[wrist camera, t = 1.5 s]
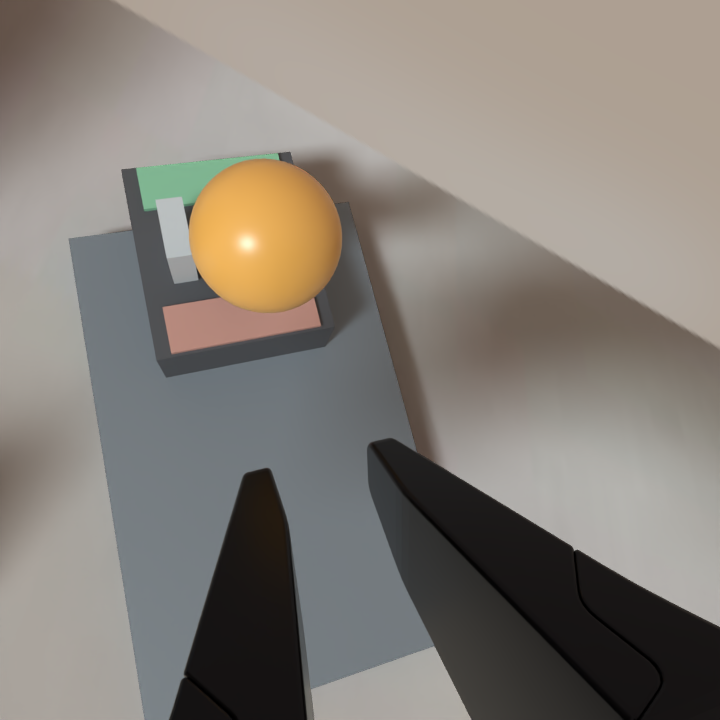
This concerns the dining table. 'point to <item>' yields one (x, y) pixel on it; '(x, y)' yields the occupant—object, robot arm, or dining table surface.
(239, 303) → the lever
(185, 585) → the switch box
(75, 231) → the dining table surface
